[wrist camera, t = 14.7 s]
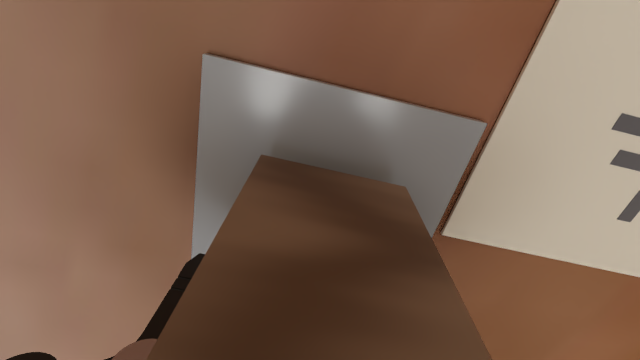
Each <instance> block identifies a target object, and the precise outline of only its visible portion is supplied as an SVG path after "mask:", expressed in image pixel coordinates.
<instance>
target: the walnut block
mask: <svg viewBox="0 0 640 360" xmlns="http://www.w3.org/2000/svg"><path fill="white" fill-rule="evenodd" d="M146 360H492V359H491V357H490V355H489V353H488V351H487V349H486V347H485V345H484V343H483V341H482V339H481V337H480V335H479V333H478V331H477V329H476V327H475V325H474V323H473V321H472V319H471V317H470V315H469V313H468V311H467V308H466V306H465V304H464V302H463V300H462V298H461V296H460V294H459V292H458V290H457V288H456V286H455V284H454V282H453V280H452V278H451V276H450V274H449V272H448V270H447V268H446V266H445V264H444V262H443V260H442V258H441V256H440V254H439V252H438V250H437V248H436V246H435V244H434V242H433V240H432V238H431V236H430V234H429V232H428V230H427V228H426V226H425V224H424V222H423V220H422V218H421V216H420V214H419V212H418V210H417V208H416V206H415V204H414V202H413V200H412V198H411V196H410V194H409V192H408V190H407V188H406V187H405V186H400V185H396V184H391V183H387V182H382V181H378V180H373V179H369V178H365V177H360V176H356V175H351V174H347V173H342V172H338V171H333V170H329V169H324V168H320V167H315V166H311V165H306V164H302V163H298V162H293V161H289V160H284V159H280V158H275V157H271V156H266V155H262V154H261V156H260V158H259V159H258V161H257V163H256V165H255V167H254V168H253V170H252V172H251V174H250V176H249V177H248V179H247V181H246V183H245V184H244V186H243V188H242V190H241V192H240V193H239V195H238V197H237V199H236V200H235V202H234V204H233V206H232V208H231V209H230V211H229V213H228V215H227V216H226V218H225V220H224V222H223V224H222V225H221V227H220V229H219V231H218V232H217V234H216V236H215V238H214V240H213V241H212V243H211V245H210V247H209V249H208V250H207V252H206V254H205V256H204V257H203V259H202V261H201V263H200V265H199V266H198V268H197V270H196V272H195V273H194V275H193V277H192V279H191V281H190V282H189V284H188V286H187V288H186V289H185V291H184V293H183V295H182V297H181V298H180V300H179V302H178V304H177V305H176V307H175V309H174V311H173V313H172V314H171V316H170V318H169V320H168V321H167V323H166V325H165V327H164V329H163V330H162V332H161V334H160V336H159V338H158V339H157V341H156V343H155V345H154V346H153V348H152V350H151V352H150V354H149V355H148V357H147V359H146Z"/></svg>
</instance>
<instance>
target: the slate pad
mask: <svg viewBox="0 0 640 360" xmlns="http://www.w3.org/2000/svg"><path fill="white" fill-rule="evenodd" d="M486 126H487V123H485V122H484V121H481V120H477V119H473V118H469V117H465V116H461V115H457V114H453V113H449V112H445V111H441V110H436V109H432V108H428V107H424V106H420V105H416V104H412V103H408V102H404V101H400V100H396V99H392V98H388V97H384V96H380V95H375V94H371V93H367V92H363V91H359V90H355V89H351V88H347V87H343V86H339V85H335V84H331V83H327V82H323V81H319V80H315V79H310V78H306V77H302V76H298V75H294V74H290V73H286V72H282V71H278V70H274V69H270V68H266V67H262V66H258V65H254V64H249V63H245V62H241V61H237V60H233V59H229V58H225V57H221V56H217V55H213V54H209V53H205V54H203V58H202V76H201V94H200V112H199V130H198V148H197V166H196V184H195V202H194V220H193V238H192V255H191V259H192V258H194V257H195V256H196V255H198V254H199V253H201V254H206V252H207V250H208V249H209V247H210V245H211V243H212V241H213V240H214V238H215V236H216V234H217V232H218V231H219V229H220V227H221V225H222V224H223V222H224V220H225V218H226V216H227V215H228V213H229V211H230V209H231V208H232V206H233V204H234V202H235V200H236V199H237V197H238V195H239V193H240V192H241V190H242V188H243V186H244V184H245V183H246V181H247V179H248V177H249V176H250V174H251V172H252V170H253V168H254V167H255V165H256V163H257V161H258V159H259V158H260V156H261V154H262V155H266V156H271V157H275V158H280V159H284V160H289V161H293V162H298V163H302V164H306V165H311V166H315V167H320V168H324V169H329V170H333V171H338V172H342V173H347V174H351V175H356V176H360V177H365V178H369V179H373V180H378V181H382V182H387V183H391V184H396V185H400V186H405V187H406V188H407V190H408V192H409V194H410V196H411V198H412V200H413V202H414V204H415V206H416V208H417V210H418V212H419V214H420V216H421V218H422V220H423V222H424V224H425V226H426V228H427V230H428V232H429V234H430V236H431V238H432V236H433V234H434V232H435V230H436V228H437V226H438V224H439V222H440V220H441V218H442V216H443V214H444V212H445V210H446V208H447V206H448V204H449V201H450V199H451V197H452V195H453V193H454V191H455V189H456V187H457V185H458V183H459V181H460V179H461V177H462V175H463V173H464V171H465V169H466V167H467V165H468V162H469V160H470V158H471V156H472V154H473V152H474V150H475V148H476V146H477V144H478V142H479V140H480V138H481V136H482V134H483V132H484V130H485V128H486Z"/></svg>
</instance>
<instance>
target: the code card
mask: <svg viewBox="0 0 640 360" xmlns="http://www.w3.org/2000/svg"><path fill="white" fill-rule="evenodd" d="M441 235H444V236H448V237H453V238H458V239H462V240H467V241H472V242H476V243H481V244H486V245H491V246H495V247H500V248H505V249H509V250H514V251H519V252H523V253H528V254H533V255H537V256H542V257H547V258H552V259H556V260H561V261H566V262H570V263H575V264H580V265H584V266H589V267H594V268H598V269H603V270H608V271H613V272H617V273H622V274H627V275H631V276H636V277H640V0H557V1H556V3H555V5H554V7H553V9H552V11H551V13H550V15H549V17H548V19H547V21H546V23H545V25H544V27H543V29H542V31H541V33H540V35H539V37H538V39H537V41H536V43H535V45H534V47H533V49H532V51H531V53H530V55H529V57H528V59H527V61H526V63H525V65H524V67H523V69H522V71H521V73H520V75H519V77H518V79H517V81H516V83H515V85H514V87H513V89H512V91H511V93H510V95H509V97H508V99H507V101H506V103H505V105H504V107H503V109H502V111H501V113H500V115H499V117H498V119H497V121H496V123H495V125H494V127H493V129H492V131H491V133H490V135H489V137H488V139H487V141H486V143H485V145H484V147H483V149H482V151H481V153H480V155H479V157H478V159H477V161H476V163H475V165H474V167H473V169H472V171H471V173H470V175H469V177H468V179H467V181H466V183H465V185H464V187H463V189H462V191H461V193H460V195H459V197H458V199H457V201H456V203H455V205H454V207H453V209H452V211H451V213H450V215H449V217H448V219H447V221H446V223H445V225H444V227H443V229H442V231H441Z"/></svg>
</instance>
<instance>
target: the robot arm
mask: <svg viewBox="0 0 640 360" xmlns="http://www.w3.org/2000/svg"><path fill="white" fill-rule="evenodd" d="M204 256H205V254H201V253H199V254H198V255H196V256H195V257H194V258H192V259H191V260H190V261H188V262H187V263H186V264H185V266H184V267H183V269H182V271H181V272H180V274H179V275H178V278H177V279H176V280H175V282H174V283H173V285H172V287H171V290H169V291H168V293H167V295H166V296H165V298H164V299H163V301H162V303H161V304H160V306H159V307H158V309H157V311H156V312H155V314H154V316H153V317H152V319H151V320H150V322H149V324H148V325H147V327H146V328H145V330H144V332H143V333H142V335H141V336H140V337H139V339H138V340H137V341H136V342H134V343H132V344H130V345H128V346H126V347H125V348H123V349H122V350H121V351H119V352H118V353H117V354H116V355H115V356H113V357H111V358H108V359H105V360H146V359H147V357H148V355H149V354H150V352H151V350H152V348H153V346H154V345H155V343H156V341H157V339H158V338H159V336H160V334H161V332H162V330H163V329H164V327H165V325H166V323H167V321H168V320H169V318H170V316H171V314H172V313H173V311H174V309H175V307H176V305H177V304H178V302H179V300H180V298H181V297H182V295H183V293H184V291H185V289H186V288H187V286H188V284H189V282H190V281H191V279H192V277H193V275H194V273H195V272H196V270H197V268H198V266H199V265H200V263H201V261H202V259H203V257H204ZM7 360H56V358H55V357H53V356H52V355H50V354H47V353H42V352H31V353H25V354H21V355H17V356H14V357H11V358H9V359H7Z"/></svg>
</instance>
